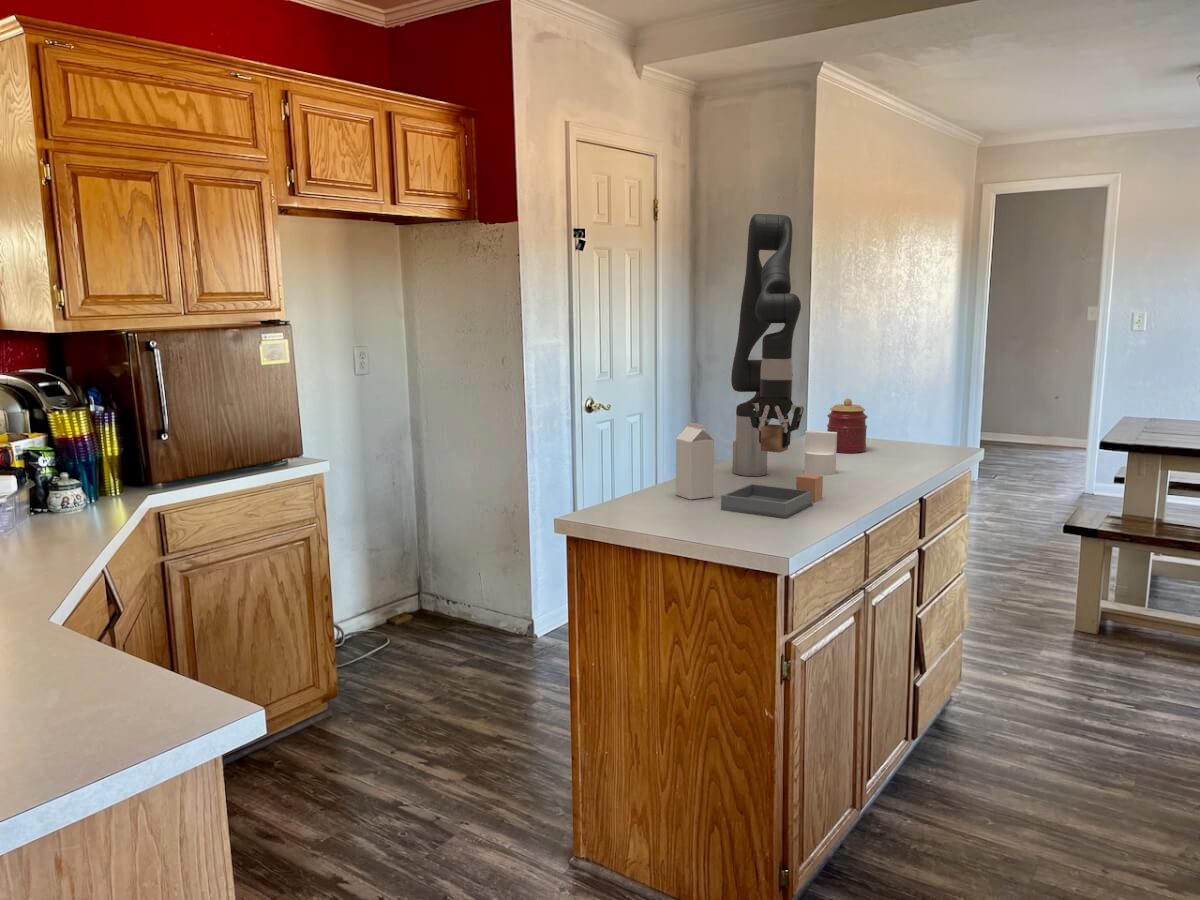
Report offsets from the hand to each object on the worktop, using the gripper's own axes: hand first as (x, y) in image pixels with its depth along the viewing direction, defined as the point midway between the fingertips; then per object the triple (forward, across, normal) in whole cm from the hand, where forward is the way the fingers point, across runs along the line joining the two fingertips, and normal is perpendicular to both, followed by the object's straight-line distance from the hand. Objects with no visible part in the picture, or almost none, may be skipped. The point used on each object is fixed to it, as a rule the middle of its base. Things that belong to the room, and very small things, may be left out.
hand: (774, 446), depth 216 cm
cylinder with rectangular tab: (+15, -6, +47) cm, 50 cm away
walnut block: (+1, 0, 0) cm, 1 cm away
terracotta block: (+15, +5, +11) cm, 19 cm away
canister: (+15, -13, +89) cm, 91 cm away
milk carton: (+15, -21, -2) cm, 26 cm away
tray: (+15, 0, -4) cm, 15 cm away
